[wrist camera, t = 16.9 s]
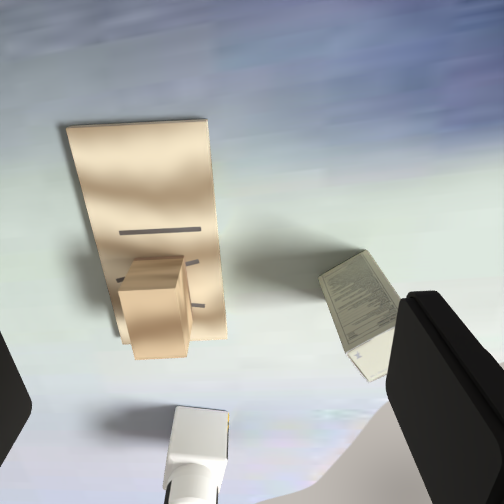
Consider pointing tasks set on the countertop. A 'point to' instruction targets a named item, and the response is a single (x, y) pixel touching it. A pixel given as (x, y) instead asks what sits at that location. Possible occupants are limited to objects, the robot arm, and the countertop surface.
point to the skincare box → (362, 312)
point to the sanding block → (157, 307)
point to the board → (154, 208)
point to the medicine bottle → (196, 456)
